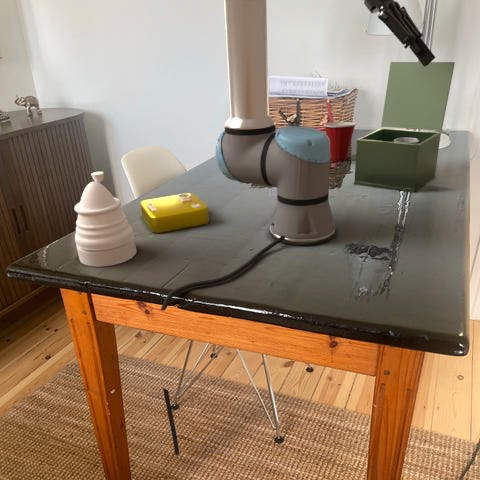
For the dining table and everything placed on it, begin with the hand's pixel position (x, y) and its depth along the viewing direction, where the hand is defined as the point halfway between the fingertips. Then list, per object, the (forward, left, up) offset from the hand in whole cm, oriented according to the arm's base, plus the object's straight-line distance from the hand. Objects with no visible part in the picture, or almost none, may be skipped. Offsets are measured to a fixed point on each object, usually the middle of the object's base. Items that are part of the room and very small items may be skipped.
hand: (429, 61), depth 132 cm
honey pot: (-85, +33, -32) cm, 96 cm away
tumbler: (0, +4, -31) cm, 31 cm away
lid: (+9, +7, -10) cm, 15 cm away
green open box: (-1, +6, -32) cm, 32 cm away
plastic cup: (+12, +34, -32) cm, 48 cm away
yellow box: (-61, +37, -32) cm, 78 cm away
